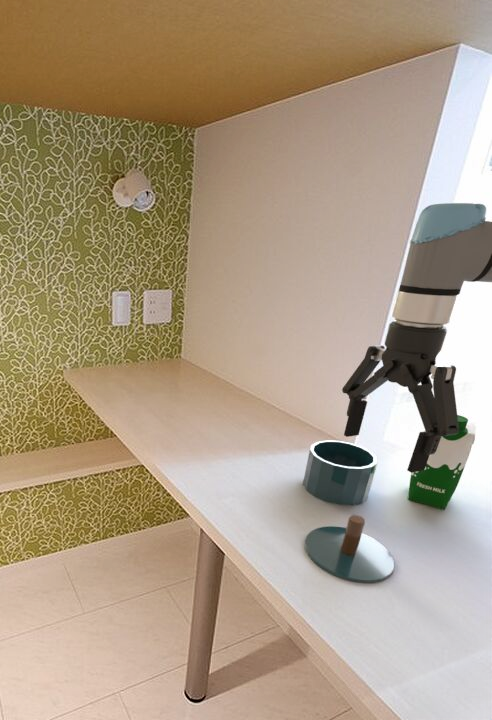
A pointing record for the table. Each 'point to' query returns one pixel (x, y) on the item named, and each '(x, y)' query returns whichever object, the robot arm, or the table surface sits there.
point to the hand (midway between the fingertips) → (380, 451)
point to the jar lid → (349, 552)
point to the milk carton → (443, 468)
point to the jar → (339, 472)
